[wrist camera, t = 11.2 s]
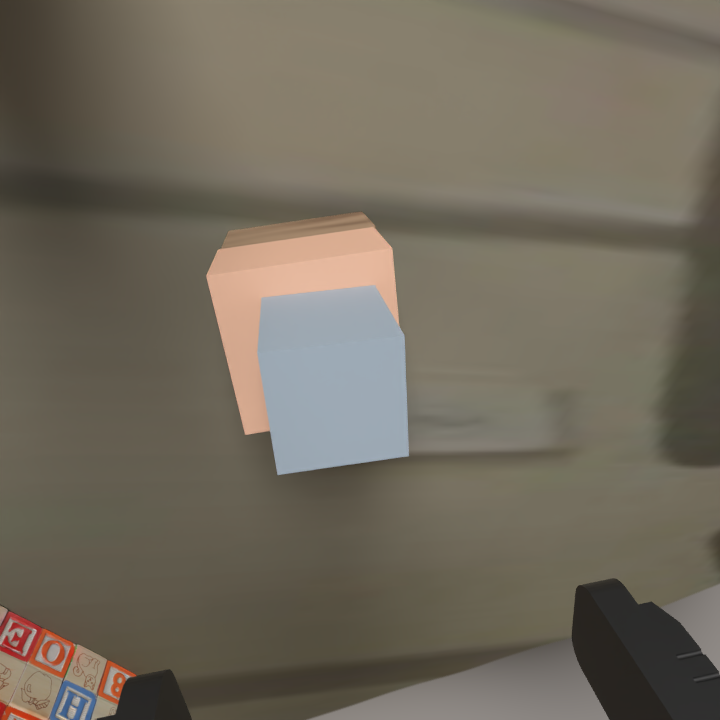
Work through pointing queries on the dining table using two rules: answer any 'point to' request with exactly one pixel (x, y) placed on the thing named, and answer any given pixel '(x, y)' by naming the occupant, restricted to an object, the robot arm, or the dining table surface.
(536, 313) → the dining table surface
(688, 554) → the dining table surface
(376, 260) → the tower top
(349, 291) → the slate block
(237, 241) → the tower base
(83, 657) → the stack of blocks
